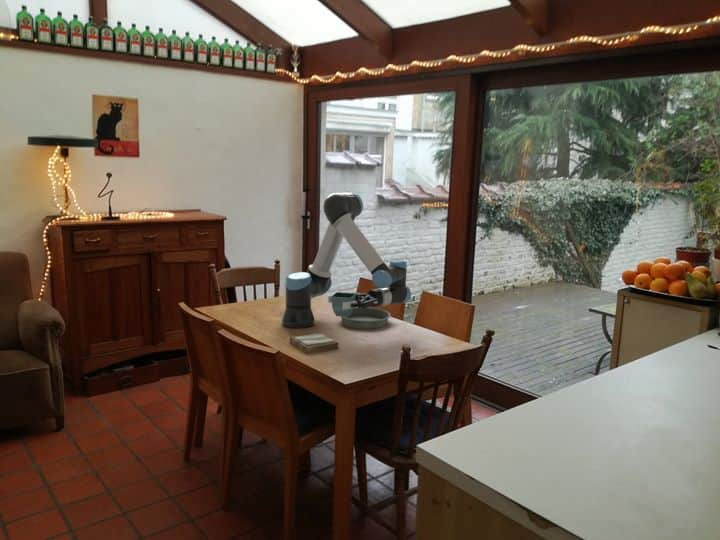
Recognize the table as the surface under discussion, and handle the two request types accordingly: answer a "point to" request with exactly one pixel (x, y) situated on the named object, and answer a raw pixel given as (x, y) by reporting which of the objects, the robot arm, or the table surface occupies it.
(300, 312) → the robot arm
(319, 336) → the stand
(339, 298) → the flower pot
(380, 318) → the cake pan
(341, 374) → the table surface
